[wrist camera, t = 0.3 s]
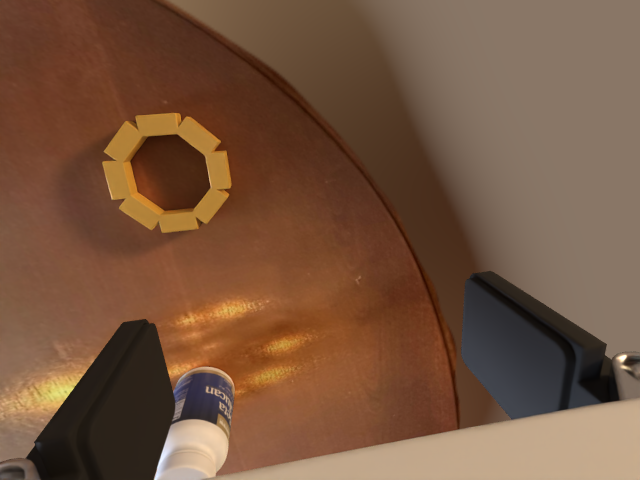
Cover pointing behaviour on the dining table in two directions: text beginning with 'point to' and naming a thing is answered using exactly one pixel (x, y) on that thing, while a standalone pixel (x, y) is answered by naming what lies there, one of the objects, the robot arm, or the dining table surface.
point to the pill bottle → (198, 426)
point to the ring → (124, 182)
